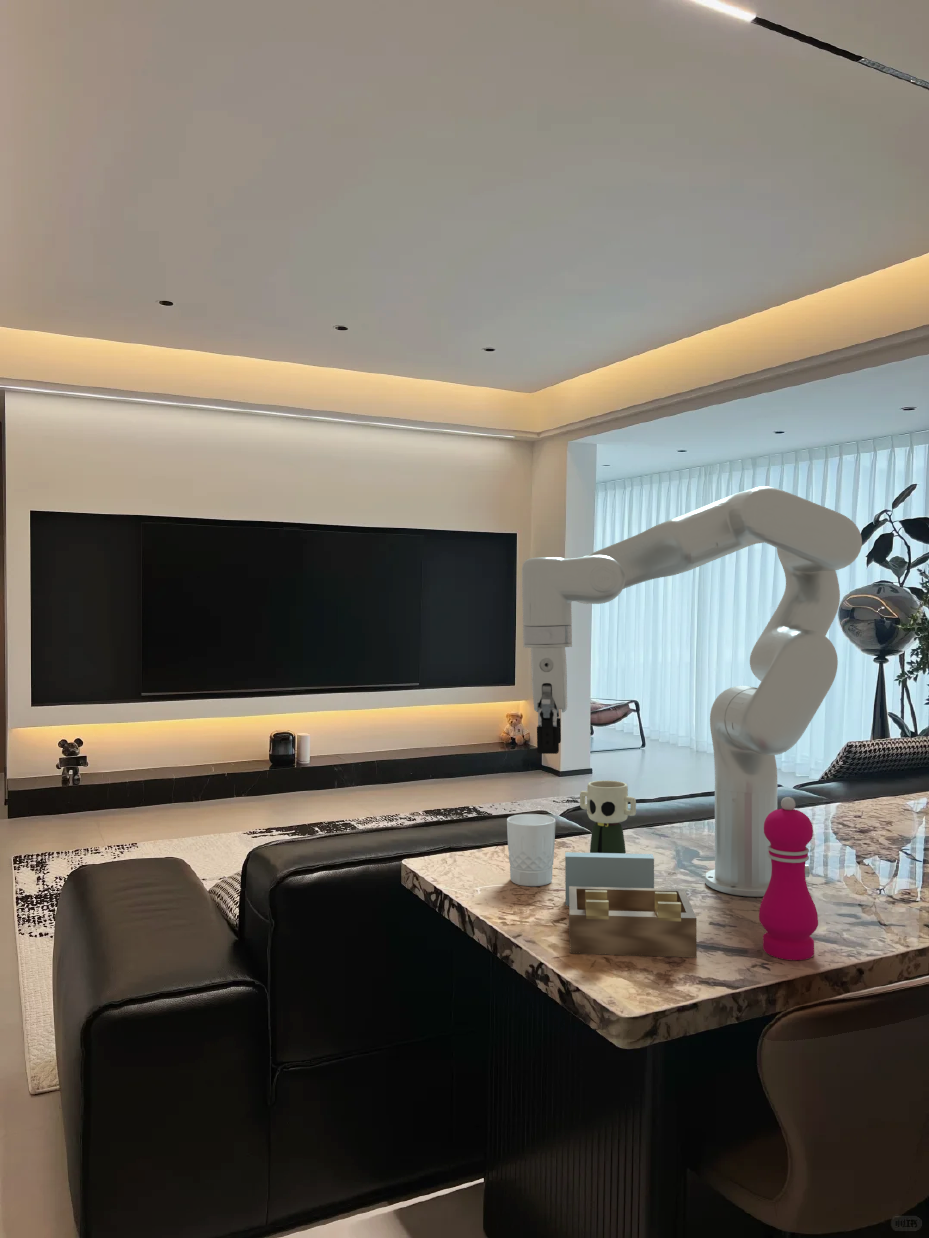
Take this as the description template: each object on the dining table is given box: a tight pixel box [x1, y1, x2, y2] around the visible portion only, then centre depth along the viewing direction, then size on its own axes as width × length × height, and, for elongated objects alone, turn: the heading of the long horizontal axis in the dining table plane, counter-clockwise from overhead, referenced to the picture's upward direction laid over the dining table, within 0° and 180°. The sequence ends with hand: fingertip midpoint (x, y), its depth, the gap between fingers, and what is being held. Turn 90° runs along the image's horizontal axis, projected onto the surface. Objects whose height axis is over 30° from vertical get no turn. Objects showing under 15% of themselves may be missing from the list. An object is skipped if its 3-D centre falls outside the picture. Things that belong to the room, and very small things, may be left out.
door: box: [564, 851, 655, 907], centre depth 139 cm, size 13×3×8 cm, turn 84°
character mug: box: [579, 780, 637, 854], centre depth 165 cm, size 11×7×13 cm, turn 54°
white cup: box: [506, 813, 556, 887], centre depth 151 cm, size 8×8×10 cm
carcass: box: [568, 886, 698, 958], centre depth 124 cm, size 16×13×7 cm
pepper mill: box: [758, 796, 819, 961], centre depth 120 cm, size 7×7×20 cm
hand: (549, 748), depth 144 cm, fingers open, 9 cm apart
